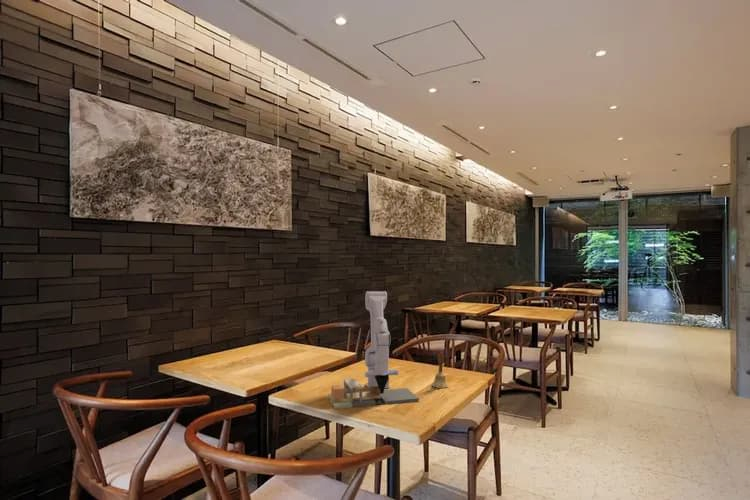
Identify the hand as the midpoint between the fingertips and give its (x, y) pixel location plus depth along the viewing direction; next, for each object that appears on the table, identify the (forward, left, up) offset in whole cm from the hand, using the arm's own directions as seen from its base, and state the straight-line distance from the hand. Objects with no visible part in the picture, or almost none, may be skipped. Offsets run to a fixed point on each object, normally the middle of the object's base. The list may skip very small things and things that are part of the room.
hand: (381, 392), depth 181 cm
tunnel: (+13, 0, -1) cm, 13 cm away
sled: (+11, 0, -1) cm, 11 cm away
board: (+4, 0, -2) cm, 4 cm away
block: (+19, 0, 0) cm, 19 cm away
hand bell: (-32, -10, -3) cm, 34 cm away
